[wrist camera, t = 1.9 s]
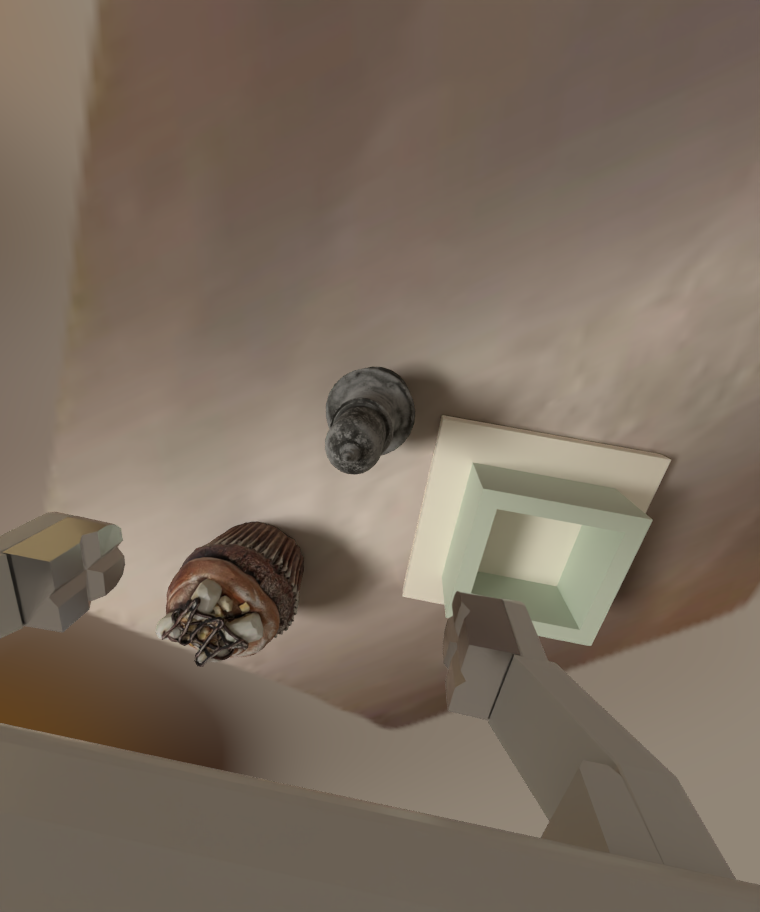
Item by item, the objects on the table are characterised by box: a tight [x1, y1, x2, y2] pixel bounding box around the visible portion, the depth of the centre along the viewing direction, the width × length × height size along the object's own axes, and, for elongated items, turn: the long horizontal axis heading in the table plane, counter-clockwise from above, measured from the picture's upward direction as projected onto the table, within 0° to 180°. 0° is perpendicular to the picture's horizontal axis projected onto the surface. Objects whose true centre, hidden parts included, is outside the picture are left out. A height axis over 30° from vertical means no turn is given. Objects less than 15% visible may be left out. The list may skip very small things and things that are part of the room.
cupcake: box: [156, 522, 304, 667], centre depth 28 cm, size 10×10×10 cm
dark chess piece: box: [325, 367, 415, 474], centre depth 21 cm, size 6×6×12 cm
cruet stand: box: [403, 415, 671, 646], centre depth 27 cm, size 16×16×6 cm
